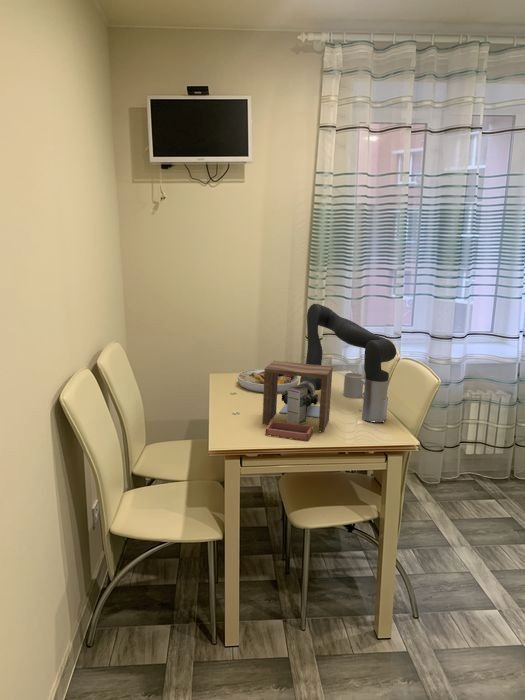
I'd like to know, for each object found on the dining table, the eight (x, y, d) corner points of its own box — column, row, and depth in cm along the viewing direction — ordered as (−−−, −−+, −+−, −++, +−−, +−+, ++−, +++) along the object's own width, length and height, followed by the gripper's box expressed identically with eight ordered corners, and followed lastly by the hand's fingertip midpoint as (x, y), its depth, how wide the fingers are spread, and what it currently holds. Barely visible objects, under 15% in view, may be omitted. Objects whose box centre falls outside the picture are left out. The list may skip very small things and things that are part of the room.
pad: (286, 403, 229) (286, 402, 229) (327, 408, 225) (327, 407, 225) (279, 413, 216) (279, 412, 216) (322, 418, 211) (322, 417, 211)
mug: (341, 392, 249) (342, 372, 247) (360, 392, 250) (362, 372, 248) (347, 399, 239) (348, 378, 237) (367, 399, 240) (369, 378, 238)
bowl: (270, 399, 236) (271, 382, 234) (224, 385, 256) (225, 369, 254) (310, 387, 258) (311, 371, 256) (265, 375, 277) (266, 360, 276)
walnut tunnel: (271, 413, 216) (273, 360, 211) (328, 420, 210) (332, 366, 205) (262, 424, 203) (264, 368, 198) (323, 432, 197) (327, 375, 192)
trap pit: (271, 427, 200) (271, 420, 200) (312, 432, 196) (312, 426, 196) (265, 435, 192) (265, 428, 191) (307, 441, 188) (308, 434, 187)
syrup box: (298, 426, 202) (300, 390, 199) (286, 422, 206) (287, 387, 203) (306, 422, 207) (308, 387, 204) (294, 419, 210) (295, 384, 207)
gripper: (288, 381, 219) (279, 391, 204) (321, 385, 216) (315, 396, 200) (287, 398, 221) (278, 410, 206) (320, 402, 217) (313, 414, 202)
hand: (296, 403), depth 203 cm, fingers open, 8 cm apart
